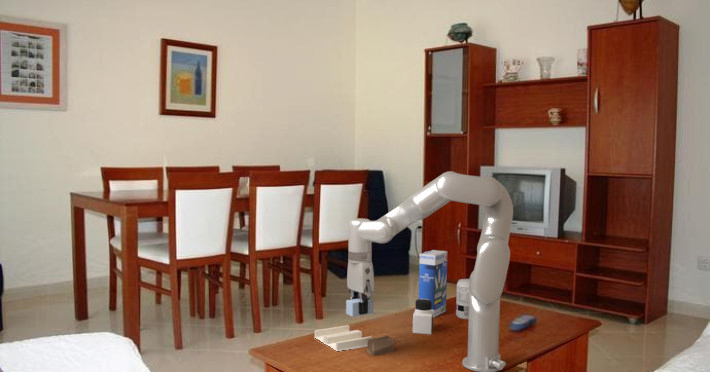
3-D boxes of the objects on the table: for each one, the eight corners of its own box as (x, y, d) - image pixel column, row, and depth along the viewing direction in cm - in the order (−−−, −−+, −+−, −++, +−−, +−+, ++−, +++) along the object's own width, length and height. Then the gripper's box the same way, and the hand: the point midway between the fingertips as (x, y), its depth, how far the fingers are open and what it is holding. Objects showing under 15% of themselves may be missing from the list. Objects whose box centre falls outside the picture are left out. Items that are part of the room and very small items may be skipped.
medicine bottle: (431, 334, 219) (432, 302, 219) (412, 333, 221) (413, 301, 220) (433, 329, 226) (433, 298, 226) (414, 327, 228) (415, 297, 227)
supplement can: (452, 314, 247) (453, 279, 246) (470, 313, 249) (471, 278, 248) (461, 320, 239) (462, 283, 238) (479, 318, 241) (480, 282, 241)
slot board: (372, 345, 206) (372, 337, 206) (337, 352, 199) (337, 343, 198) (347, 332, 220) (348, 325, 219) (314, 338, 212) (314, 330, 212)
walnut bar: (393, 352, 200) (393, 339, 200) (373, 356, 196) (374, 342, 195) (386, 348, 203) (387, 335, 203) (367, 352, 199) (367, 339, 199)
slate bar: (373, 313, 194) (373, 299, 194) (352, 316, 190) (352, 303, 190) (366, 310, 198) (366, 297, 198) (346, 313, 194) (346, 300, 193)
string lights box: (433, 318, 241) (435, 255, 240) (416, 315, 245) (418, 253, 244) (446, 311, 252) (448, 251, 251) (430, 308, 256) (431, 249, 255)
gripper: (383, 259, 188) (383, 316, 189) (356, 251, 202) (355, 304, 203) (364, 261, 184) (363, 320, 185) (337, 253, 198) (336, 307, 199)
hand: (359, 311), depth 194 cm, fingers closed on slate bar, 4 cm apart
